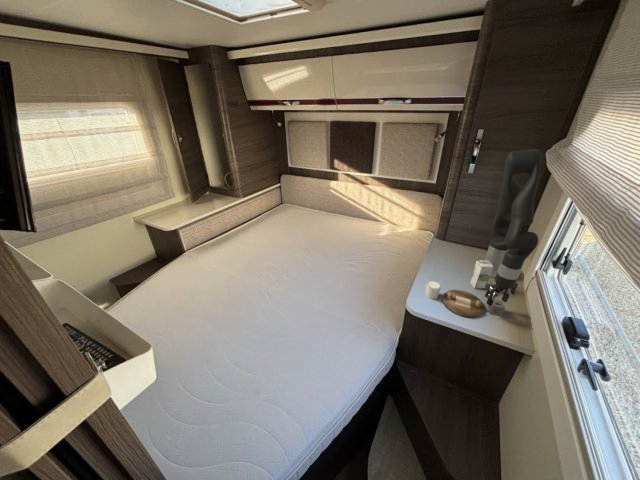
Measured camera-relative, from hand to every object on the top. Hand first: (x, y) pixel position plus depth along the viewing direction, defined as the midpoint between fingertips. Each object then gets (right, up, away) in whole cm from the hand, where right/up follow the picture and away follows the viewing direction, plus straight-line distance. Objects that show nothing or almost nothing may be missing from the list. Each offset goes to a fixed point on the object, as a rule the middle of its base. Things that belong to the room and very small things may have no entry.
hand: (496, 302), depth 120 cm
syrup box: (+3, +4, +20) cm, 21 cm away
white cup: (-24, 0, +14) cm, 28 cm away
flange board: (-11, -3, +8) cm, 14 cm away
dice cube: (+1, -5, +4) cm, 6 cm away
